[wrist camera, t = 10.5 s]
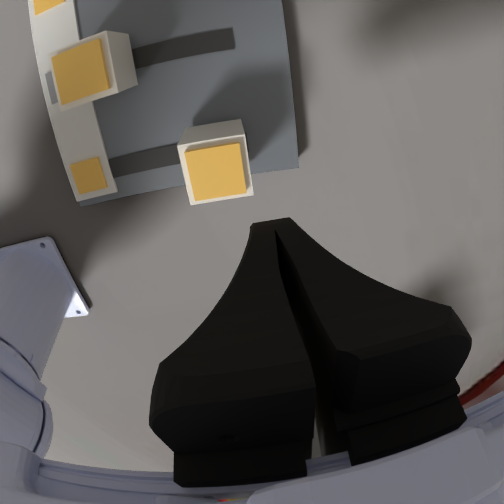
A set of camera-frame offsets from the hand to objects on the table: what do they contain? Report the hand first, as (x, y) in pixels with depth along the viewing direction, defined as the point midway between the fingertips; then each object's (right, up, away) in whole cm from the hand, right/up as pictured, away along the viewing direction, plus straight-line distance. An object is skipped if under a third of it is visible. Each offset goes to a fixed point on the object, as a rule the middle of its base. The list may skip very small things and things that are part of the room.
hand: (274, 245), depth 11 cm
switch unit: (-6, +11, +4) cm, 13 cm away
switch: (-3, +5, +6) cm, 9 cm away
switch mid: (-8, +10, +3) cm, 13 cm away
